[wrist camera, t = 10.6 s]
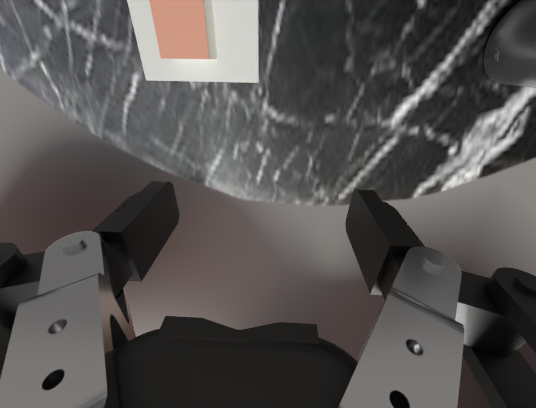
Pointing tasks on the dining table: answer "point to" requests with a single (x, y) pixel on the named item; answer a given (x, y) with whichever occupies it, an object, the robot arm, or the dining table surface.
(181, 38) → the card box
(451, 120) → the dining table surface
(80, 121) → the dining table surface
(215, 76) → the mat
